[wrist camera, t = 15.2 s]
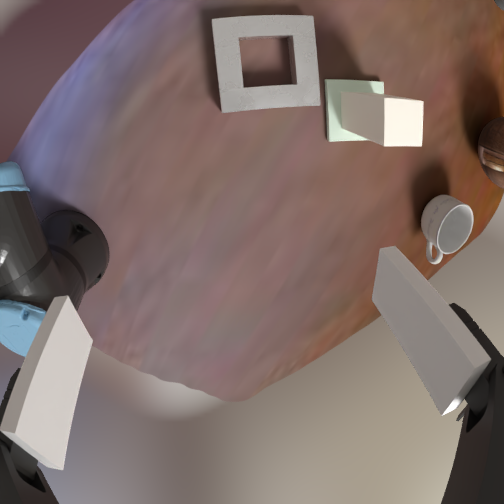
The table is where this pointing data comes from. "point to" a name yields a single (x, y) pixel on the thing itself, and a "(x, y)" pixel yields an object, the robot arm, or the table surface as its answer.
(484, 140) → the bronze metal ball
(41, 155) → the table surface
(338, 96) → the pad
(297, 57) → the socket plate
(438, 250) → the teacup
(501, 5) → the faucet
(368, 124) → the peg
